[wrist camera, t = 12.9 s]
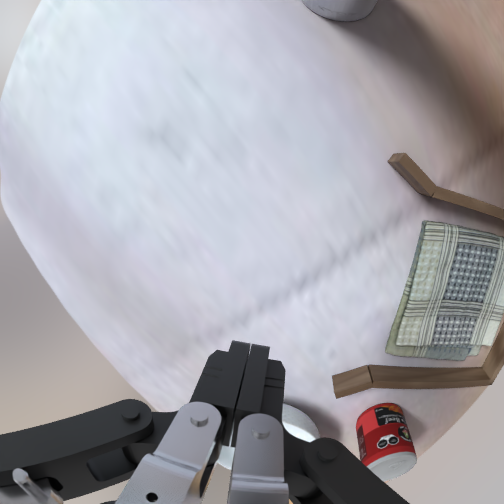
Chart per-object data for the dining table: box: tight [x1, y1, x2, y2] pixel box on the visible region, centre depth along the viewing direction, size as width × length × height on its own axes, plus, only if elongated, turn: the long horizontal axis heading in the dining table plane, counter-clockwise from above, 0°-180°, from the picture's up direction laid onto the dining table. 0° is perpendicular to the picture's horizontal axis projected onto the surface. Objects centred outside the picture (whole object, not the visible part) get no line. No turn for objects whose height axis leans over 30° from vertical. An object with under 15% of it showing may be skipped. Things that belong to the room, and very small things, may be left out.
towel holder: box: [332, 153, 504, 399], centre depth 29 cm, size 30×28×4 cm
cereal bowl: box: [217, 403, 320, 470], centre depth 37 cm, size 17×17×7 cm
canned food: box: [356, 403, 417, 482], centre depth 33 cm, size 8×8×11 cm
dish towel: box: [385, 221, 504, 361], centre depth 30 cm, size 19×18×3 cm
